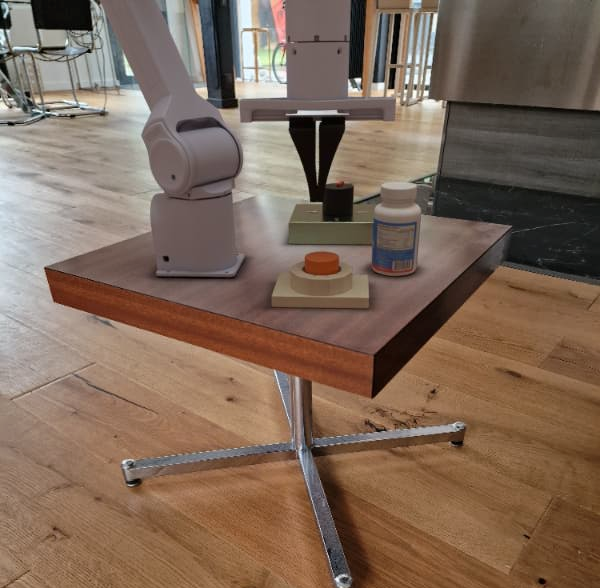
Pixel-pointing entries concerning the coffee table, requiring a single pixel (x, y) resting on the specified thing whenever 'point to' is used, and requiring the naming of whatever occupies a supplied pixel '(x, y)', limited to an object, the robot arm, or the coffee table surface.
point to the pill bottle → (396, 230)
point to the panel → (331, 225)
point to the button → (321, 263)
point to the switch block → (321, 289)
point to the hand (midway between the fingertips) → (317, 200)
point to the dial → (338, 199)
